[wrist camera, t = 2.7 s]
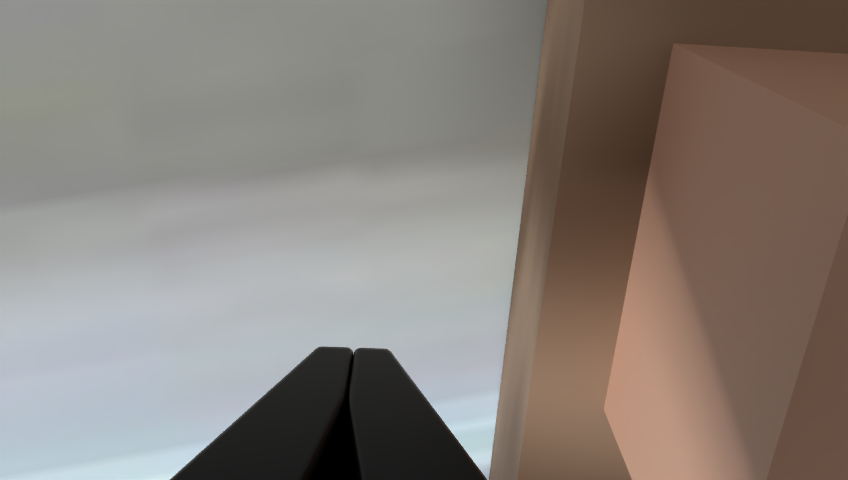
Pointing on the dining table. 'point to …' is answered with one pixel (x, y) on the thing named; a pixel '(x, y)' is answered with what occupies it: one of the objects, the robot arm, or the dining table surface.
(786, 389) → the terracotta block
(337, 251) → the dining table surface
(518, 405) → the walnut deck
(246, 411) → the robot arm
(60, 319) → the dining table surface
